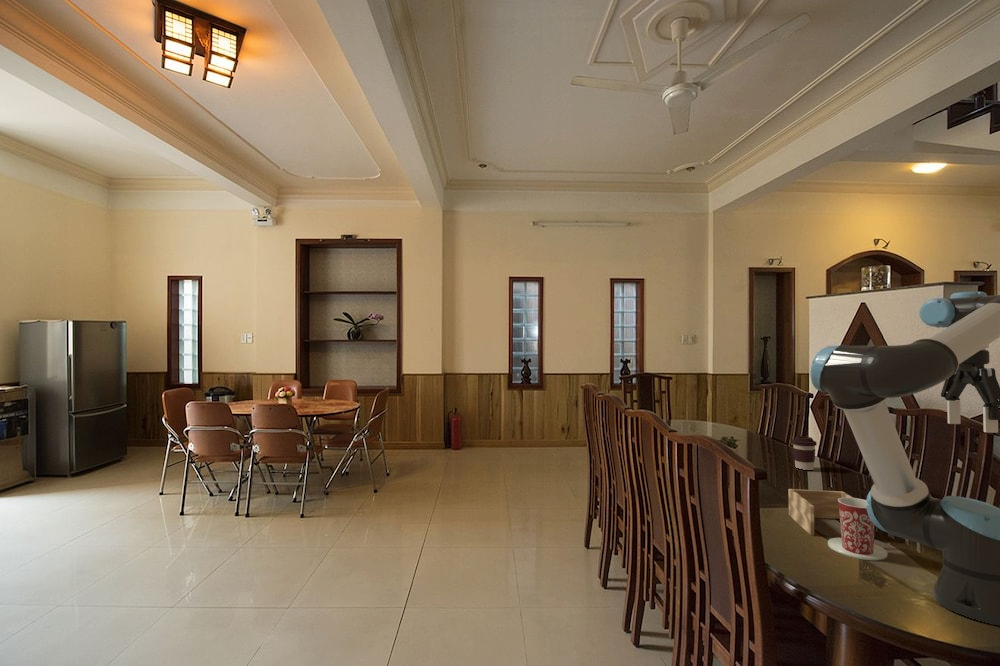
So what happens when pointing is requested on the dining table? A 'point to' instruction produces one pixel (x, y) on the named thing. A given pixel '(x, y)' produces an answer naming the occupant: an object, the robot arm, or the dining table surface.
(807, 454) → the coffee cup
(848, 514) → the mug
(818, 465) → the dining table surface
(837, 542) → the disc
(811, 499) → the crate
